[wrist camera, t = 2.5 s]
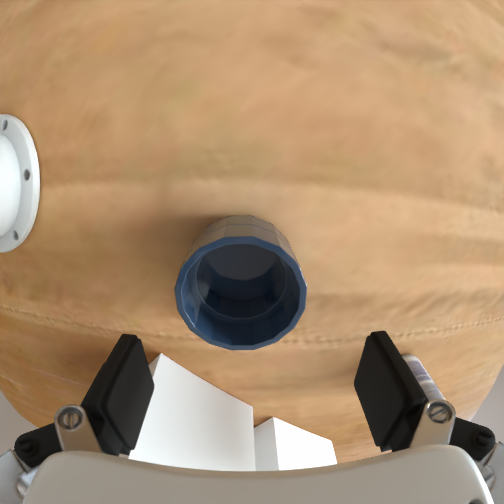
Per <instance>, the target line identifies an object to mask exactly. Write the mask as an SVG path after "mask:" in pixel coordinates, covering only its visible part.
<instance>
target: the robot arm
mask: <svg viewBox="0 0 504 504" xmlns="http://www.w3.org/2000/svg"><path fill="white" fill-rule="evenodd" d="M39 194H40V175H39V164H38V158H37V153H36V149H35V146H34V142H33V140H32V137H31V135H30V133H29V131H28V129H27V128H26V126H25V125H24V124H23V122H22V121H20V120H19V119H18V118H17V117H15V116H12V115H9V114H0V252H2V253H4V252H8V251H11V250H13V249H14V248H16V247H18V246H19V245H20V244H21V243H23V242H24V241H25V239H26V238H27V236H28V235H29V233H30V231H31V229H32V227H33V225H34V222H35V218H36V214H37V210H38V203H39ZM354 387H355V390H356V392H357V395H358V398H359V400H360V403H361V406H362V408H363V411H364V414H365V417H366V419H367V422H368V425H369V428H370V431H371V433H372V436H373V439H374V442H375V445H376V446H377V447H378V446H380V449H381V452H384V451H387V450H392V452H391V453H388V454H384V455H379V456H375V457H371V458H366V459H361V460H356V461H351V462H346V463H340V464H334V465H327V466H320V467H312V468H303V469H292V470H277V471H218V470H202V469H191V468H182V467H174V466H167V465H161V464H155V463H149V462H143V461H138V460H133V459H128V458H123V457H119V454H124V455H128V456H129V455H130V452H131V450H134V449H135V447H136V444H137V441H138V438H139V434H140V431H141V428H142V425H143V422H144V419H145V416H146V413H147V409H148V406H149V403H150V400H151V397H152V395H153V392H154V381H153V378H152V375H151V372H150V369H149V365H148V362H147V359H146V355H145V352H144V349H143V345H142V342H141V340H140V339H138V338H137V336H136V335H130V334H122V335H121V337H120V339H119V340H118V342H117V344H116V345H115V347H114V349H113V350H112V352H111V354H110V356H109V357H108V359H107V361H106V362H105V363H104V364H103V365H102V367H101V369H100V370H99V372H98V374H97V376H96V377H95V379H94V381H93V383H92V385H91V386H90V388H89V390H88V392H87V394H86V396H85V398H84V399H83V401H82V403H81V405H80V406H79V405H76V404H68V405H65V406H63V407H61V408H60V409H59V410H58V411H57V412H56V414H55V417H54V423H52V424H49V425H47V426H44V427H41V428H39V429H36V430H33V431H30V432H27V433H25V434H22V435H21V436H19V437H18V438H17V440H16V442H15V446H14V448H15V449H14V450H13V451H12V450H11V449H9V450H8V451H6V452H5V453H4V454H2V455H1V456H0V504H504V444H503V443H501V442H498V443H495V436H494V434H493V432H492V431H491V430H490V429H489V428H487V427H484V426H481V425H478V424H475V423H472V422H469V421H466V420H463V419H460V418H457V417H456V412H455V409H454V407H453V406H452V404H450V403H449V402H448V401H446V400H443V399H433V400H431V401H429V400H428V398H427V396H426V394H425V393H424V391H423V389H422V387H421V386H420V384H419V382H418V381H417V379H416V377H415V376H414V374H413V372H412V371H411V369H410V367H409V366H408V364H407V363H406V361H405V360H404V359H403V358H402V356H401V355H400V353H399V351H398V350H397V348H396V347H395V345H394V343H393V342H392V340H391V339H390V337H389V336H388V334H387V333H386V331H377V332H372V333H371V334H370V336H367V338H366V342H365V346H364V349H363V353H362V357H361V360H360V363H359V367H358V370H357V373H356V377H355V380H354Z"/></svg>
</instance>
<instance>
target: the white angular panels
mask: <svg viewBox="0 0 504 504" xmlns="http://www.w3.org/2000/svg"><path fill="white" fill-rule="evenodd" d="M149 369H150V372H151V375H152V378H153V381H154V392H153V395H152V397H151V400H150V403H149V406H148V409H147V413H146V416H145V419H144V422H143V425H142V428H141V431H140V434H139V438H138V441H137V444H136V447H135V449H134V450H131V452H130V455H129V456H128V455H124V454H119V457H123V458H128V459H133V460H138V461H143V462H149V463H155V464H161V465H167V466H174V467H182V468H191V469H202V470H218V471H277V470H292V469H303V468H312V467H320V466H327V465H334V464H337V461H336V457H335V453H334V449H333V445H332V442H331V441H330V440H328V439H325V438H322V437H320V436H317V435H315V434H312V433H310V432H307V431H305V430H302V429H300V428H297V427H295V426H293V425H291V424H288V423H286V422H284V421H281V420H279V419H277V418H275V417H272V418H270V419H269V420H267V421H265V422H264V423H262V424H260V425H258V426H256V427H255V428H254V427H253V407H252V406H250V405H248V404H246V403H244V402H242V401H240V400H239V399H237V398H235V397H233V396H231V395H229V394H227V393H226V392H224V391H222V390H220V389H218V388H217V387H215V386H213V385H211V384H210V383H208V382H206V381H205V380H203V379H201V378H200V377H198V376H196V375H195V374H193V373H191V372H190V371H188V370H186V369H185V368H183V367H182V366H180V365H179V364H177V363H175V362H174V361H172V360H171V359H169V358H168V357H166V356H165V355H163V354H162V353H161V354H160V355H159V356H158V357H156V358H155V359H154V360H153V361H152V362H151V363H150V364H149Z"/></svg>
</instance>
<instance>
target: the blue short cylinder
mask: <svg viewBox="0 0 504 504" xmlns="http://www.w3.org/2000/svg"><path fill="white" fill-rule="evenodd" d="M306 294H307V285H306V282H305V279H304V277H303V274H302V271H301V269H300V266H299V264H298V262H297V259H296V257H295V255H294V253H293V251H292V249H291V246H290V244H289V242H288V240H287V239H286V237H285V236H284V235H283V234H282V233H281V232H280V231H279V230H278V229H277V228H276V227H275V226H274V225H273V224H271V223H269V222H267V221H264V220H262V219H259V218H256V217H254V216H229V217H225V218H223V219H221V220H219V221H216V222H214V223H212V224H210V225H208V226H207V227H206V228H205V229H204V230H203V231H202V233H201V234H200V235H199V236H198V237H197V238H196V239H195V241H194V242H193V244H192V246H191V248H190V250H189V252H188V254H187V256H186V258H185V260H184V262H183V264H182V267H181V269H180V272H179V276H178V279H177V282H176V285H175V296H176V303H177V309H178V312H179V314H180V315H181V317H182V318H183V320H184V321H185V323H186V325H187V326H188V328H189V329H190V330H191V331H192V332H193V333H195V334H196V335H198V336H199V337H200V338H202V339H203V340H204V341H206V342H207V343H209V344H212V345H215V346H218V347H222V348H225V349H228V350H255V349H258V348H261V347H264V346H267V345H270V344H273V343H276V342H277V341H279V340H280V339H281V338H282V337H284V336H285V335H286V334H287V333H289V332H290V331H291V330H292V329H294V327H295V326H296V324H297V322H298V320H299V319H300V317H301V315H302V313H303V312H304V310H305V305H306Z"/></svg>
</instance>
